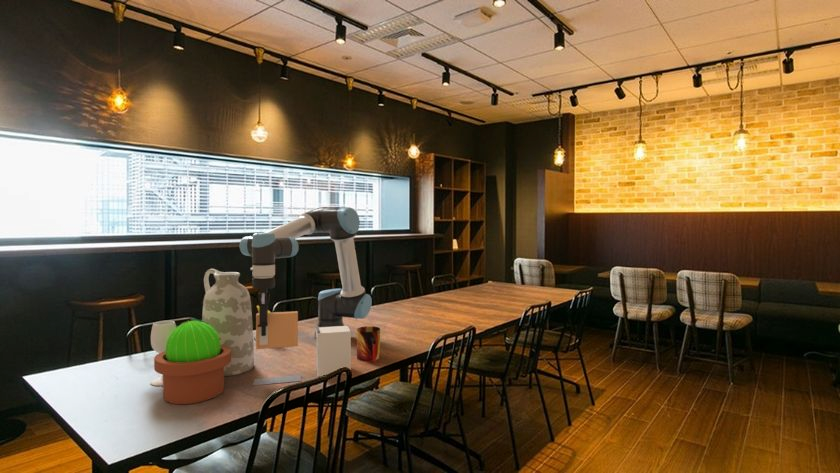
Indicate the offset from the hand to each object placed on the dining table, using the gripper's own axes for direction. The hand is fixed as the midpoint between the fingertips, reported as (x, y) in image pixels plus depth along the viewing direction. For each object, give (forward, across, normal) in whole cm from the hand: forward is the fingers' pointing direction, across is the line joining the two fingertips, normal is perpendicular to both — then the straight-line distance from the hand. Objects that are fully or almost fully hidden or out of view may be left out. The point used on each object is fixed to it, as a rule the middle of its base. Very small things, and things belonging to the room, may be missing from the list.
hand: (263, 342), depth 158 cm
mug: (+14, -16, +42) cm, 47 cm away
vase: (+14, -19, -14) cm, 27 cm away
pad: (+14, 0, +5) cm, 15 cm away
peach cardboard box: (+2, 0, +4) cm, 5 cm away
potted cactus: (+14, +5, -21) cm, 26 cm away
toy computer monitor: (+14, -56, -1) cm, 57 cm away
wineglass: (+14, -10, -33) cm, 38 cm away
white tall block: (+14, -5, +25) cm, 29 cm away
